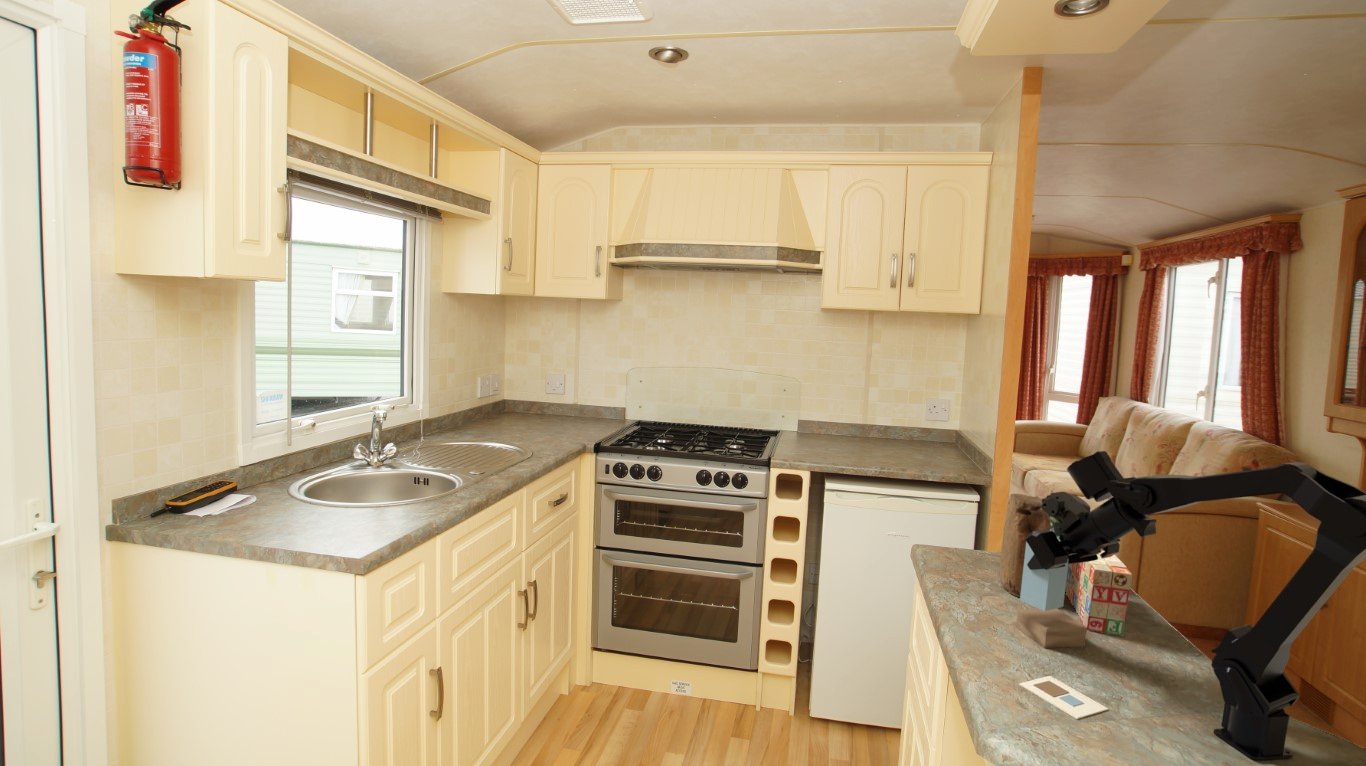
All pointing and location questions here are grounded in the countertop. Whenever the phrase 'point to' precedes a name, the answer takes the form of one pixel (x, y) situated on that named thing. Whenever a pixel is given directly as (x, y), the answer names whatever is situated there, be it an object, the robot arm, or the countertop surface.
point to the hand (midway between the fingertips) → (1038, 565)
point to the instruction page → (1063, 697)
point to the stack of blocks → (1100, 593)
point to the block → (1019, 537)
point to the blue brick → (1043, 585)
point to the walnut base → (1051, 628)
